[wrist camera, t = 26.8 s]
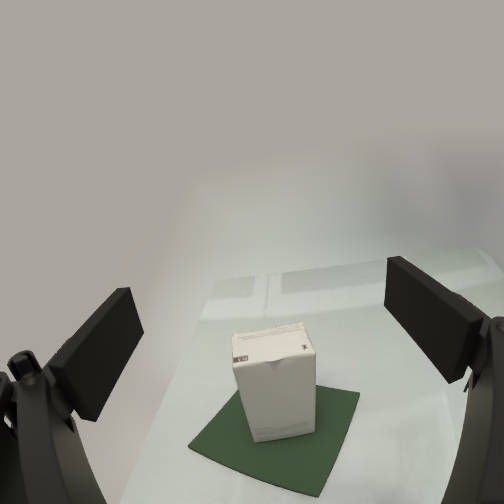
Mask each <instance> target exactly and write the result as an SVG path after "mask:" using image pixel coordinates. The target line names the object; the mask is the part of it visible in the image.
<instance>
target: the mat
mask: <svg viewBox="0 0 504 504" xmlns="http://www.w3.org/2000/svg"><path fill="white" fill-rule="evenodd" d="M359 395H360V393H359V392H352V391H346V390H340V389H334V388H328V387H323V386H318V385H316V403H315V432H313V433H308V434H303V435H299V436H294V437H288V438H283V439H277V440H271V441H264V442H256V443H255V442H254V440H253V437H252V433H251V430H250V427H249V424H248V420H247V417H246V414H245V410H244V407H243V404H242V400H241V396H240V393H239V389H238V390H237V391H236V393H235V394H234V395H233V396H232V397H231V398H230V400H229V401H228V402H227V403H226V404H225V405H224V407H223V408H222V409H221V410H220V411H219V412H218V413H217V414H216V416H215V417H214V418H213V419H212V420H211V421H210V422H209V423H208V424H207V426H206V427H205V428H204V429H203V430H202V431H201V432H200V433H199V434H198V435H197V436H196V437H195V439H194V440H193V441H192V442H191V443H190V444H189V445H188V447H189V448H190V449H192V450H194V451H196V452H198V453H199V454H201V455H203V456H205V457H207V458H209V459H211V460H214V461H216V462H218V463H220V464H222V465H224V466H226V467H229V468H231V469H233V470H236V471H238V472H240V473H243V474H245V475H248V476H250V477H253V478H256V479H258V480H261V481H264V482H267V483H269V484H272V485H275V486H278V487H281V488H285V489H288V490H291V491H295V492H298V493H302V494H305V495H309V496H313V497H319V495H320V493H321V491H322V489H323V487H324V485H325V483H326V481H327V478H328V476H329V474H330V472H331V470H332V467H333V465H334V463H335V461H336V458H337V456H338V453H339V451H340V449H341V446H342V444H343V441H344V438H345V436H346V433H347V430H348V428H349V425H350V422H351V419H352V417H353V414H354V411H355V408H356V405H357V402H358V398H359Z"/></svg>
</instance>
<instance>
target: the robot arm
mask: <svg viewBox="0 0 504 504" xmlns="http://www.w3.org/2000/svg"><path fill="white" fill-rule="evenodd" d="M384 306H385V307H386V309H387V310H388V311H389V312H390V313H391V314H392V315H393V317H394V318H395V319H396V320H397V321H398V322H399V323H400V325H401V326H402V327H403V328H404V329H405V330H406V332H407V333H408V334H409V335H410V336H411V337H412V339H413V340H414V341H415V342H416V343H417V345H418V346H419V347H420V348H421V350H422V351H423V352H424V353H425V354H426V356H427V357H428V358H429V359H430V361H431V362H432V363H433V364H434V366H435V367H436V368H437V369H438V371H439V372H440V373H441V374H442V376H443V377H444V378H445V380H446V381H447V382H448V384H450V383H453V382H455V381H457V380H459V379H461V378H463V376H464V374H465V372H466V369H467V367H468V366H469V367H470V368H471V369H472V370H473V371H472V373H471V375H470V378H469V380H468V382H467V384H466V386H465V389H464V391H463V392H466V390H467V388H469V390H468V398H467V406H466V413H465V419H464V424H463V430H462V435H461V439H460V444H459V448H458V452H457V456H456V460H455V463H454V467H453V470H452V473H451V477H450V480H449V483H448V486H447V489H446V491H445V494H444V497H443V500H442V502H441V504H504V317H494V318H492V319H491V318H490V317H489V316H487V315H486V314H485V313H484V312H482V311H481V310H480V309H478V308H477V307H476V306H473V304H472V303H470V302H469V301H467V300H466V299H465V298H464V297H462V296H461V295H459V294H457V293H454V292H452V291H450V290H449V289H447V288H446V287H444V286H443V285H442V284H440V283H439V282H437V281H436V280H435V279H433V278H432V277H430V276H429V275H427V274H426V273H425V272H423V271H422V270H420V269H419V268H417V267H416V266H414V265H413V264H411V263H410V262H408V261H407V260H405V259H404V258H402V257H401V256H396V257H389V258H387V275H386V289H385V300H384ZM143 334H144V331H143V328H142V325H141V322H140V319H139V316H138V313H137V310H136V307H135V303H134V300H133V297H132V293H131V290H130V287H126V288H117V289H116V290H115V291H114V292H113V293H112V294H111V295H110V296H109V297H108V299H106V301H105V302H104V303H103V304H102V305H101V306H100V307H99V308H98V309H97V310H96V311H95V312H94V313H93V314H92V315H91V316H90V318H89V319H88V320H87V321H86V322H85V323H84V324H83V325H82V326H81V327H80V328H79V329H78V330H77V332H76V333H75V334H74V335H73V336H72V337H71V338H69V339H68V340H67V341H66V342H65V343H64V344H63V345H62V346H61V347H62V348H60V349H59V350H58V351H57V353H55V355H54V356H53V357H52V358H51V359H50V360H49V361H48V363H47V364H46V365H45V366H44V367H43V369H41V367H40V365H39V363H38V361H37V360H36V358H35V356H34V354H33V352H32V351H28V350H25V351H21V352H19V353H17V354H15V355H14V356H13V357H11V359H10V360H9V361H8V364H7V366H8V367H9V369H10V371H11V373H12V374H13V376H14V378H15V379H16V381H15V382H11V381H10V379H9V377H8V376H7V374H6V373H5V372H0V504H107V503H106V501H105V499H104V497H103V495H102V493H101V490H100V488H99V486H98V484H97V482H96V479H95V477H94V475H93V472H92V470H91V467H90V465H89V462H88V459H87V457H86V454H85V451H84V448H83V445H82V442H81V439H80V437H79V433H78V430H77V427H76V423H75V420H74V419H73V417H72V416H71V413H72V412H73V410H74V409H75V411H76V412H77V414H78V415H79V416H80V418H81V419H83V420H88V421H93V422H96V421H97V419H98V417H99V415H100V413H101V411H102V409H103V407H104V405H105V403H106V401H107V399H108V397H109V396H110V393H111V392H112V390H113V388H114V386H115V384H116V382H117V380H118V379H119V377H120V375H121V373H122V371H123V369H124V367H125V366H126V364H127V362H128V360H129V358H130V357H131V355H132V353H133V351H134V350H135V348H136V346H137V344H138V342H139V341H140V339H141V337H142V335H143ZM4 416H6V417H7V418H8V419H9V421H10V422H11V423H12V424H11V427H9V426H8V425H7V424H6V423H5V421H4Z"/></svg>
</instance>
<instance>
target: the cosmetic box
mask: <svg viewBox="0 0 504 504" xmlns="http://www.w3.org/2000/svg"><path fill="white" fill-rule="evenodd" d="M232 367H233V372H234V375H235V379H236V382H237V386H238V389H239V393H240V396H241V400H242V404H243V407H244V410H245V414H246V417H247V420H248V424H249V427H250V430H251V433H252V437H253V440H254V442H255V443H256V442H264V441H271V440H277V439H283V438H288V437H294V436H299V435H303V434H308V433H313V432H315V403H316V351H315V349H314V347H313V345H312V343H311V341H310V339H309V337H308V334H307V332H306V330H305V328H304V326H303V324H302V322H300V323H296V324H291V325H286V326H281V327H275V328H270V329H264V330H258V331H252V332H246V333H239V334H232Z"/></svg>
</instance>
